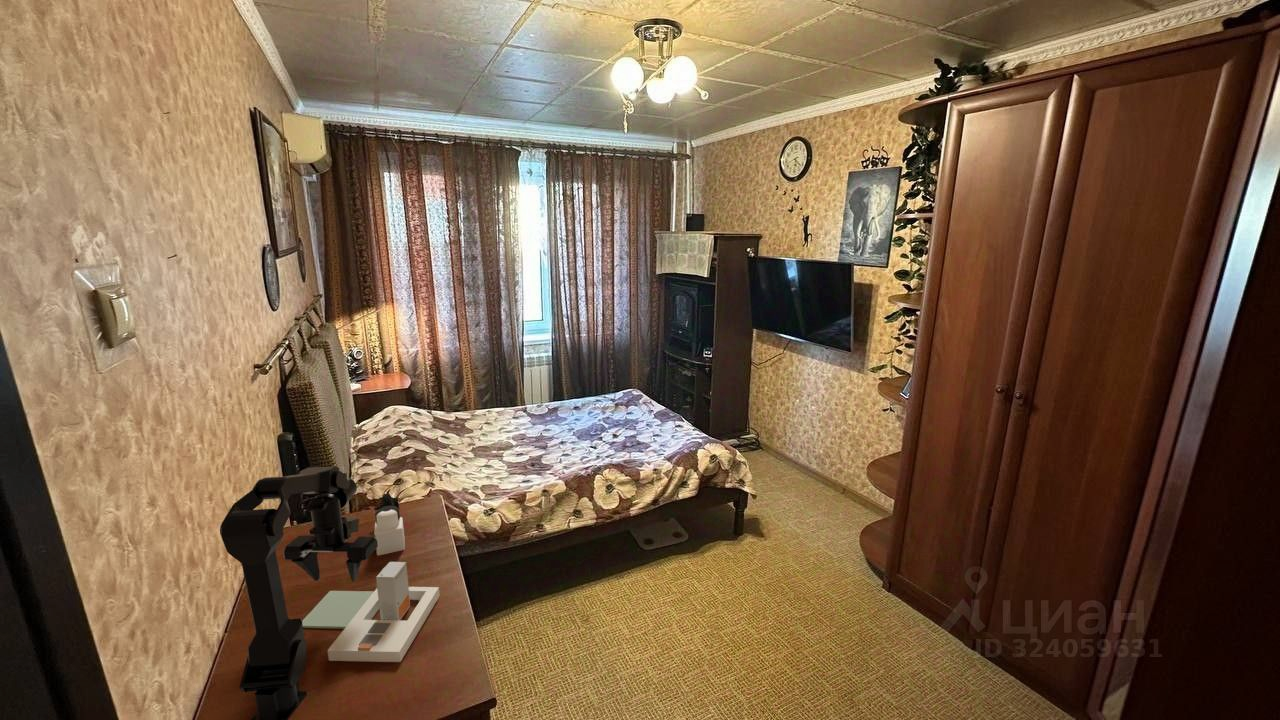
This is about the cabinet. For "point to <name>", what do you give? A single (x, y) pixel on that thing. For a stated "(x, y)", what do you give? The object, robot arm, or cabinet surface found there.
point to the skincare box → (393, 591)
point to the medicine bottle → (389, 530)
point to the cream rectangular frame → (382, 630)
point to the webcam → (388, 501)
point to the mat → (336, 609)
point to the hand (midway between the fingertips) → (335, 580)
